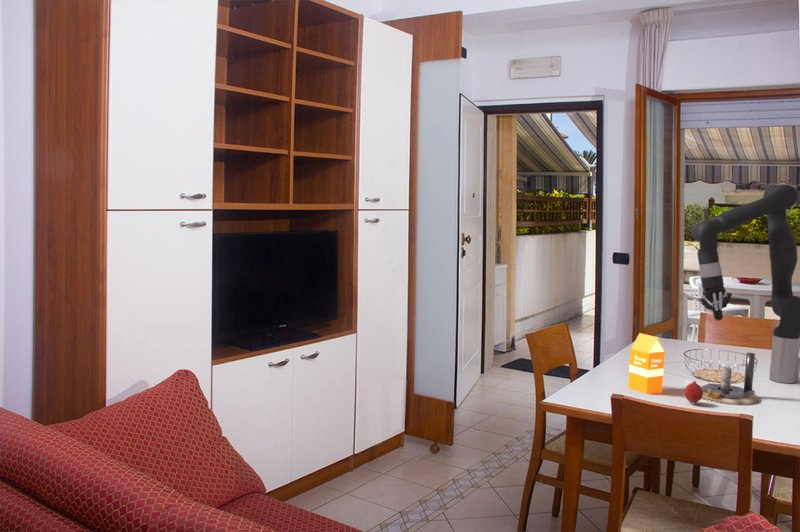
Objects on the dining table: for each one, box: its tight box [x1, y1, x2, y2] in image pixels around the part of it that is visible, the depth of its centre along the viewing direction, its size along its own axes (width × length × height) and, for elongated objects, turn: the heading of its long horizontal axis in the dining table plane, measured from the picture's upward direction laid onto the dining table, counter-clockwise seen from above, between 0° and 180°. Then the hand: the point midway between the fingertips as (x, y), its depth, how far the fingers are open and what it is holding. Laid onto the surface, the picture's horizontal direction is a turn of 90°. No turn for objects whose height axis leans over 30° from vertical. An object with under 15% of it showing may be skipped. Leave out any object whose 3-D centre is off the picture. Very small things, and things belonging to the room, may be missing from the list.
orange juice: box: [627, 332, 665, 395], centre depth 256 cm, size 8×9×20 cm
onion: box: [683, 380, 703, 404], centre depth 241 cm, size 6×6×8 cm
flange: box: [701, 352, 756, 399], centre depth 250 cm, size 15×18×14 cm
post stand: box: [699, 366, 759, 406], centre depth 251 cm, size 21×21×10 cm
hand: (718, 320), depth 270 cm, fingers closed
